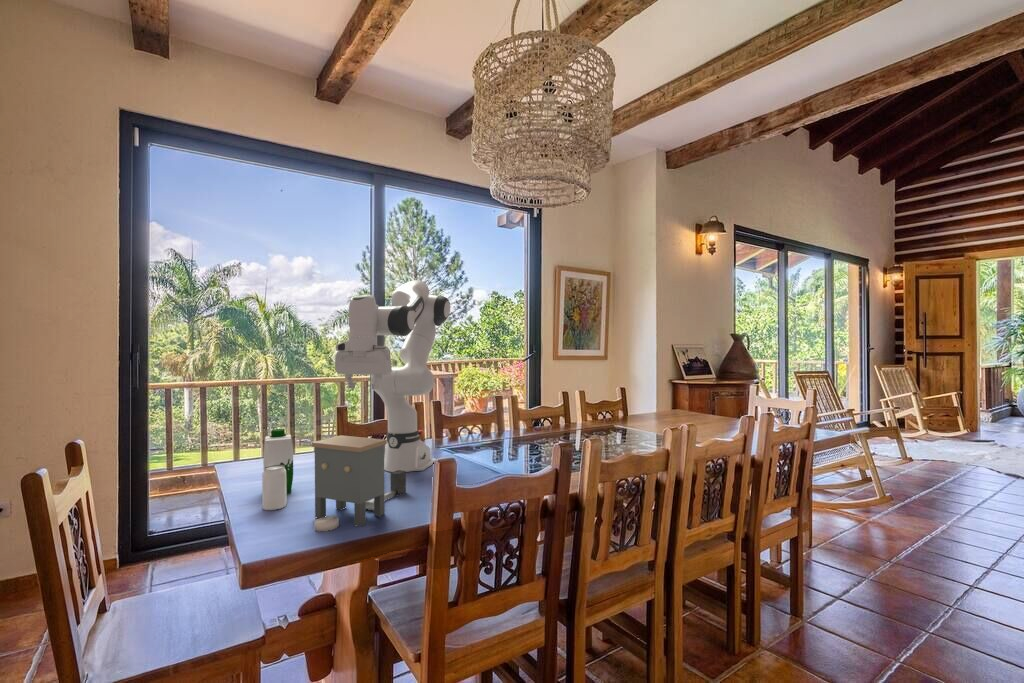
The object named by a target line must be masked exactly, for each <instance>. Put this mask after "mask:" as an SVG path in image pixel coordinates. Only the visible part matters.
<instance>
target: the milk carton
mask: <svg viewBox="0 0 1024 683" xmlns="http://www.w3.org/2000/svg"><path fill="white" fill-rule="evenodd" d="M285 431H286V430H285V429H284V428H275V429H274V428H273V429H272V430H270V432H271V433H270V435H269V436H268V435H266V436H265V437H264V442H263V444H264V445H263V449H262V450H263V454H262V455H263V468H264V467H267V466H271V465H284V466H285V467H284V468H285V470H286V487H287V495H289V494H288V493H291V494H292V486H293V481H294V444H293V438H292V435H291V434H290V433H289V434H286V432H285Z"/></svg>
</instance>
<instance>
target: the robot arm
mask: <svg viewBox="0 0 1024 683" xmlns="http://www.w3.org/2000/svg"><path fill="white" fill-rule="evenodd" d="M390 299H391V304H392V306H380V305H378V304H377V301H376V297H375V296H374V295H371V294H364V295H363V294H362V295H355V296H352V297H351V298H350V300H349V303H348V304H349V305H348V315H347V316H348V320H347V321H348V326H349V333H348V339H347V340H344V341H342V342H340V343H337V344H336V345H335V351H336V353H335V357H334V371H335V372H336V374H338V375H344V379H345V380H346V383H347V388H348V389H356V382H354V381H353V377H354V375H363V376H364V375H365V376H367V375H368V376H370V377H371V378H370V385H371V390H372V391H374V392H375V393H376V394H377V395H378V396H379V397H380V398H381V400H382V402H383V404H384V407H385V409H386V415H387V416H386V417H387V432H386V440H387V444H385V447H384V471H386V472H390V473H392V472H394V471H397V470H402V471H406V473H408V472H417V471H418V472H419V471H420V472H421V471H425V470H426V469H427V468H429V467H430V466H432V465H434V464H433V462H434V461H435V460H436V459H437V458H435V457H432V455H431V454H432V453H431V447H429V445H427V444H426V443H425V442H424V441H422V439H421V436H424V433H425V431H424V429H418V412H417V409H416V408H415V407H414V406H413V405H411V404H410V403H409V402H408V400H407V399H406V396H408V397H409V396H410V397H411V396H413V397H417V396H423V395H427V394H429V393H431V391H432V390H433V389H434V386H435V376H434V374H433V373H432V371H431V370H430V369H429V368H428V364H427V362H428V358H429V356H430V353H431V350H432V348H433V345H434V343H435V339H436V334H437V328H436V327H440V326H441V325H442V323H444V322H446V320H447V319H449V316H450V314H451V302H450V300H449V299H448V298H447V297H446V296H443V295H435V294H431V293H430V288H429V287H428V285H427V284H426V283H425V281H423V280H420V279H414V280H413V279H412V280H410V281H407V282H405V283H403V284H402V285H399V286H398V287H397V288H396V289H395V290H394V291H393V292H392V294H391V298H390ZM378 336H397V337H398V336H400V337H405V340H404V342H403V344H402V346H401V349H400V351H399V353H400V354H399V356H400V359H401V360H402V361H403V362H404V363H405V365H404V366H393V365H392V359H391V350H390V349H389V347H387V345H378Z"/></svg>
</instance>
